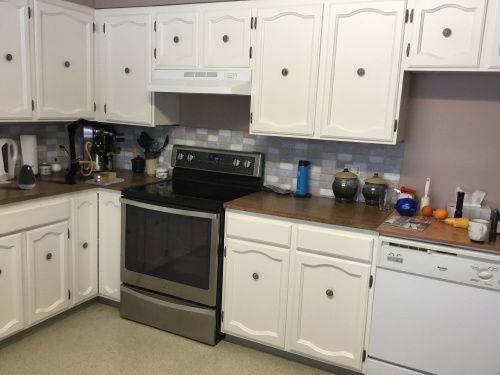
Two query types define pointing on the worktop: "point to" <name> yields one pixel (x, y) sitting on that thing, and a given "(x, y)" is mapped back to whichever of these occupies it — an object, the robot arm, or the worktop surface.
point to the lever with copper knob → (109, 164)
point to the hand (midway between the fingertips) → (108, 164)
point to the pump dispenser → (26, 177)
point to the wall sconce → (91, 163)
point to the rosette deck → (104, 179)
